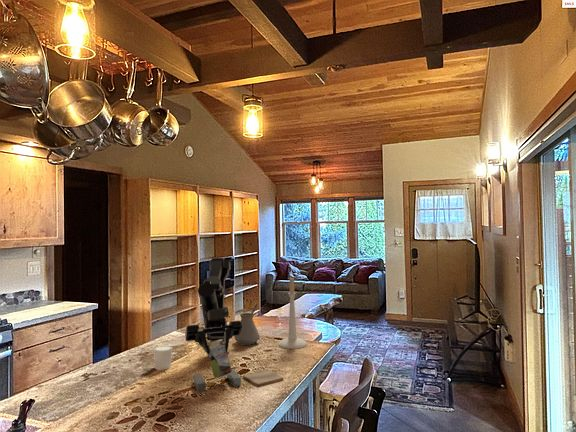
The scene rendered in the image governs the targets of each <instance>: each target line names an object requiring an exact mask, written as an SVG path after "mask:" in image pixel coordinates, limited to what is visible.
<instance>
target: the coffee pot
mask: <svg viewBox="0 0 576 432" xmlns="http://www.w3.org/2000/svg"><path fill="white" fill-rule="evenodd" d="M256 308H257V309H258V308H259V306H258V304H257V303H256V304H255V305H254V307H253V309H252V310H251V312H244V313H240V314H239V316H240V320H239V321H240V322H241V323H242V329H241V332H240V334H239V335H237V336H233V337H234V340H235V342H237V343H238V345H242V346H251V344H252V345H254V344H256V343H255V342H258V341H259V339H260V337H261V336H260V332H259V331H258V329H257V326H256V324H255V322H254V319H253V318H254V316H255V314H254V313H255V311H256Z"/></svg>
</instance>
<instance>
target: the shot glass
mask: <svg viewBox="0 0 576 432" xmlns="http://www.w3.org/2000/svg"><path fill="white" fill-rule="evenodd" d="M172 357H173V347H172V346H170V345H163V346H158V347H154V348H153V358H154V369H155V370H157V371H164V370H167V369H170V368H171V367H172Z"/></svg>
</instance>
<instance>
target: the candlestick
mask: <svg viewBox="0 0 576 432" xmlns="http://www.w3.org/2000/svg"><path fill="white" fill-rule="evenodd" d="M287 294H288V297H289V311H288V313H289V314H288V315H289V316H288V317H289V318H288V336H287V337H286V338H283V339H280V341H278V344H277V345H278V347H280V348H283V349H286V350H288V349H289V350H294V349H295V350H296V349H303V348H305V347H307V345H308V343H307V341H306V340H304V339H302V338H298V336H297V326H296V325H297V323H296V310H295V309H296V307H295V297H296V295H295V294H296V292H295V278H294V277H289V292H288V293H287Z"/></svg>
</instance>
